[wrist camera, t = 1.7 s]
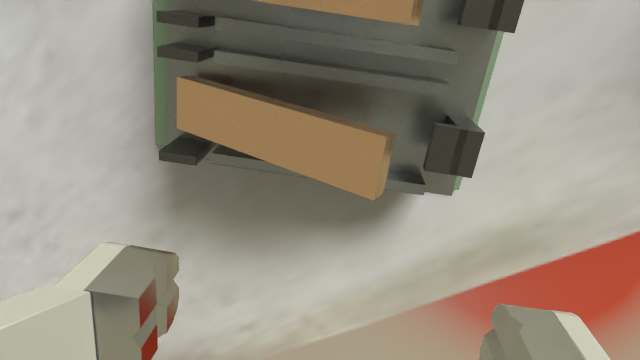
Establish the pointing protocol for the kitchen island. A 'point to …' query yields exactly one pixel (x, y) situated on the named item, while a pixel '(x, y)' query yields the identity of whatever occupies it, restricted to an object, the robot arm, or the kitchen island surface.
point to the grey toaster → (345, 76)
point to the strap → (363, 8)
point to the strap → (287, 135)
